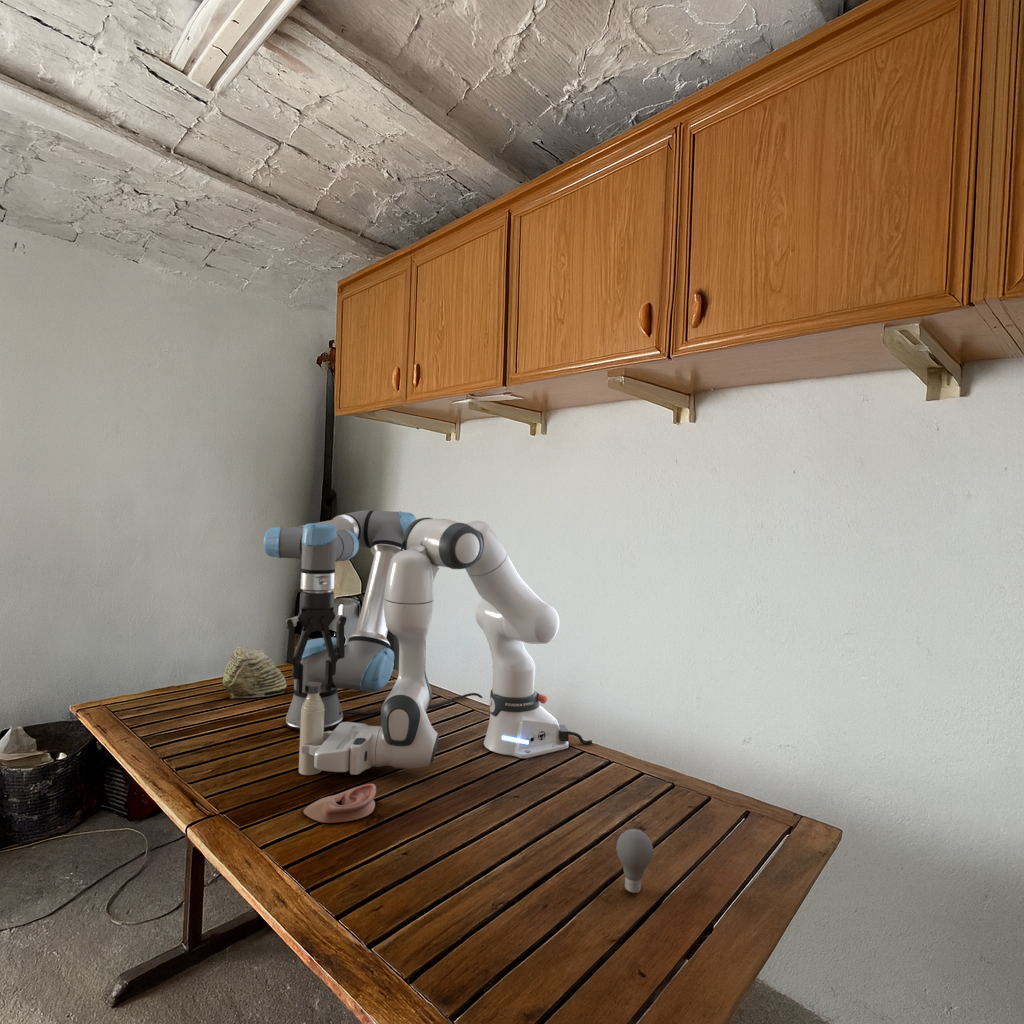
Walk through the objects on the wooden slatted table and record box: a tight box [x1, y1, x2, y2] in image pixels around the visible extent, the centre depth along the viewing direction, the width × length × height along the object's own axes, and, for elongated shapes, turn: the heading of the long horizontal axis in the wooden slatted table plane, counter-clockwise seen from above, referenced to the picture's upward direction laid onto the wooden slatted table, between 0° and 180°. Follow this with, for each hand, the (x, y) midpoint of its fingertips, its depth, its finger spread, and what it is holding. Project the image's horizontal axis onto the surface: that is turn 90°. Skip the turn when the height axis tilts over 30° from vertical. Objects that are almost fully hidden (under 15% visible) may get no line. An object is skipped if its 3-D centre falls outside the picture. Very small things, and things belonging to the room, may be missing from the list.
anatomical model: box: [302, 783, 377, 824], centre depth 128 cm, size 13×4×12 cm
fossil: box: [222, 646, 288, 699], centre depth 198 cm, size 9×18×15 cm, turn 132°
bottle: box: [298, 693, 325, 776], centre depth 146 cm, size 5×5×20 cm
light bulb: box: [615, 828, 654, 894], centre depth 106 cm, size 6×6×10 cm
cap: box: [305, 682, 322, 694], centre depth 146 cm, size 4×4×2 cm
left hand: (313, 690), depth 146 cm, fingers open, 6 cm apart
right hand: (307, 742), depth 146 cm, fingers closed on bottle, 5 cm apart
